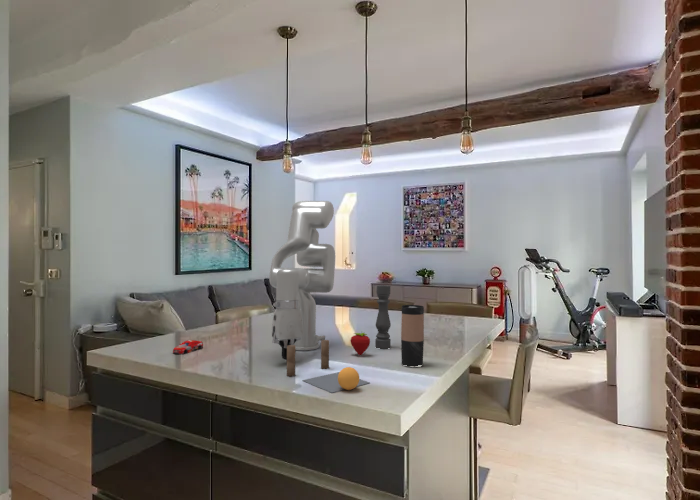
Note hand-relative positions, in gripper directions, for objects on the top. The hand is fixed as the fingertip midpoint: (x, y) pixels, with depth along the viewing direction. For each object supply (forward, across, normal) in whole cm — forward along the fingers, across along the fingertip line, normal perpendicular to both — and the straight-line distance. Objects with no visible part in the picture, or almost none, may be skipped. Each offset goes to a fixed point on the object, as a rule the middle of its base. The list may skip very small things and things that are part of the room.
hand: (286, 358), depth 142 cm
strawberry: (+2, +28, -7) cm, 28 cm away
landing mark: (+2, 0, -27) cm, 27 cm away
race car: (+2, -20, +39) cm, 44 cm away
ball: (-2, -1, -34) cm, 34 cm away
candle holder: (+2, +44, -3) cm, 44 cm away
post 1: (+2, -6, -13) cm, 15 cm away
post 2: (+2, +6, -13) cm, 15 cm away
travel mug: (+2, +32, -28) cm, 43 cm away
